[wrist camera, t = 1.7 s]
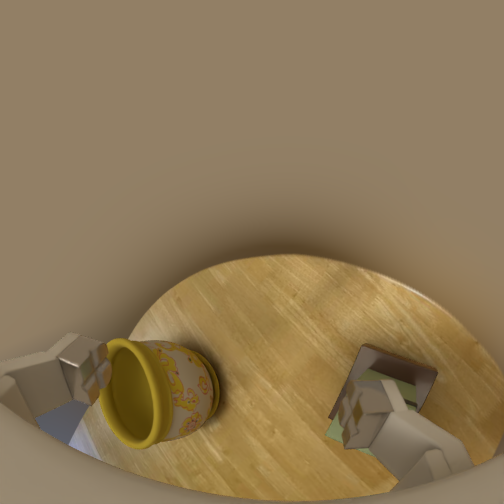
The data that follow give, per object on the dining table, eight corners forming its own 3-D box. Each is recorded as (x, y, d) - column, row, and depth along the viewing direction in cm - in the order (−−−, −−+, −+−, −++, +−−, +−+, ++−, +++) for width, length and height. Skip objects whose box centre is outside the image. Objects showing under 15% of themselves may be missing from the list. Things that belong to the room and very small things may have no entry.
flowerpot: (160, 343, 55) (92, 340, 42) (226, 335, 47) (149, 334, 33) (169, 423, 49) (103, 436, 36) (239, 434, 41) (167, 462, 27)
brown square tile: (365, 343, 34) (361, 344, 32) (436, 368, 28) (438, 372, 26) (334, 411, 34) (327, 417, 31) (400, 438, 27) (398, 447, 25)
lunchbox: (367, 367, 31) (350, 383, 23) (417, 385, 27) (417, 409, 18) (347, 408, 30) (323, 435, 22) (395, 427, 26) (385, 462, 18)
